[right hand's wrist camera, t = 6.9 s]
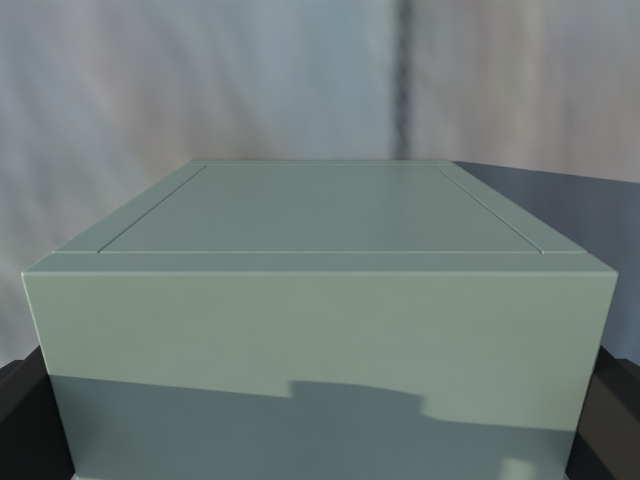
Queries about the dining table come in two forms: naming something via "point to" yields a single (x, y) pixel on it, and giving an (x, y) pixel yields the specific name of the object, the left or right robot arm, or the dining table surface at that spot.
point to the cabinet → (320, 328)
